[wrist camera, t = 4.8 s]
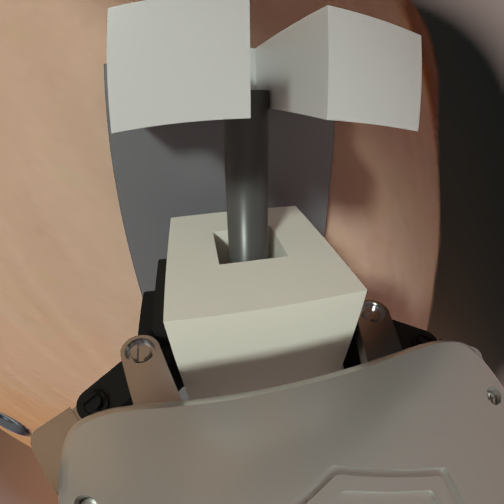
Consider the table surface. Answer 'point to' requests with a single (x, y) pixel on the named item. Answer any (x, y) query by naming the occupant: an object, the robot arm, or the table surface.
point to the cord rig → (241, 114)
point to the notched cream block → (256, 305)
